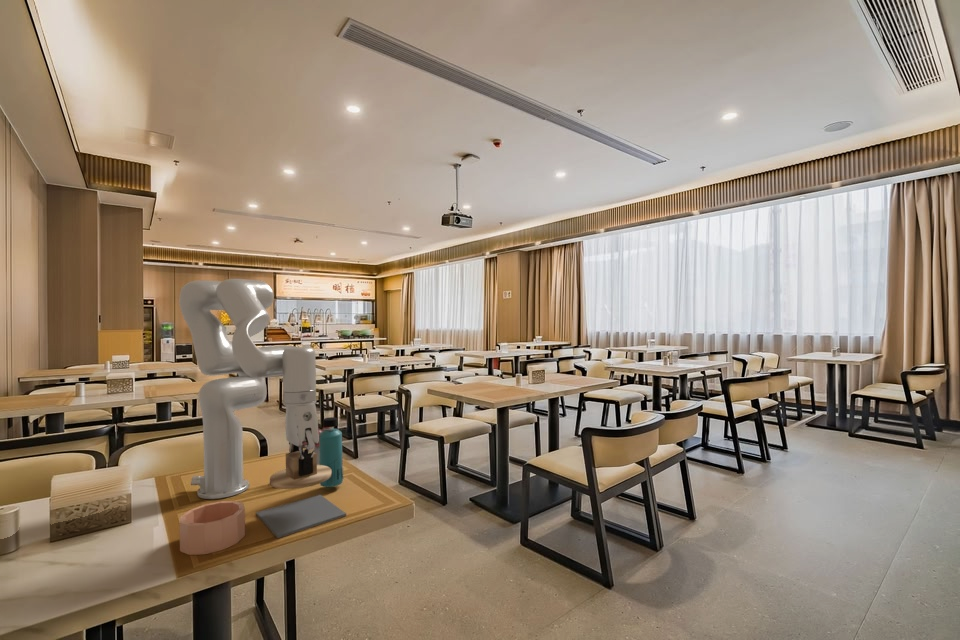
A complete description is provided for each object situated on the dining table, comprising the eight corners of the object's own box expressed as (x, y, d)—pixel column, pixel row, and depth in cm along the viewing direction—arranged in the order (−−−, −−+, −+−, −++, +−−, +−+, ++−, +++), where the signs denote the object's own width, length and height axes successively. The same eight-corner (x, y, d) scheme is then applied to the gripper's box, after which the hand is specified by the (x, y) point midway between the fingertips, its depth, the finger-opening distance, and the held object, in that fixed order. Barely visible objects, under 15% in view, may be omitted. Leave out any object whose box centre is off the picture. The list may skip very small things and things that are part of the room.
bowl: (166, 555, 90) (166, 526, 90) (201, 527, 102) (201, 501, 102) (226, 553, 90) (226, 524, 90) (254, 526, 102) (254, 500, 102)
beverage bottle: (338, 492, 122) (338, 420, 122) (315, 492, 122) (314, 420, 122) (346, 483, 128) (345, 415, 128) (324, 484, 128) (323, 415, 128)
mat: (277, 538, 96) (277, 535, 96) (256, 514, 108) (256, 512, 108) (346, 515, 107) (346, 513, 107) (320, 496, 119) (320, 494, 119)
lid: (341, 478, 107) (340, 453, 107) (281, 493, 98) (280, 467, 98) (318, 464, 117) (318, 442, 117) (262, 478, 108) (261, 453, 108)
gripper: (329, 399, 104) (330, 476, 104) (302, 392, 117) (303, 460, 116) (296, 404, 99) (298, 484, 99) (272, 395, 112) (274, 467, 111)
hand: (301, 470), depth 108 cm, fingers closed on lid, 5 cm apart
